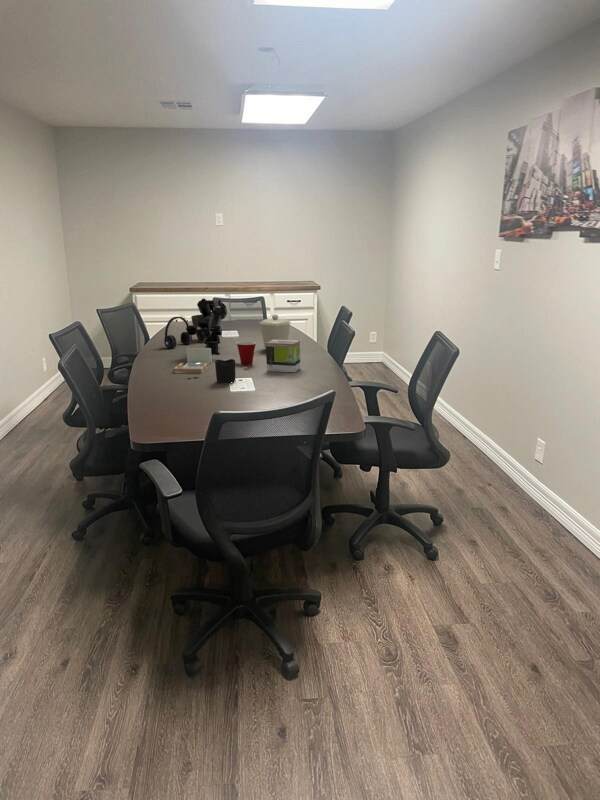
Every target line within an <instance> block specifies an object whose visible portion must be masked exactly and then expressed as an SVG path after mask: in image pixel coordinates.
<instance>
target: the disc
mask: <svg viewBox="0 0 600 800" xmlns="http://www.w3.org/2000/svg"><path fill="white" fill-rule="evenodd" d="M203 365H204V362H202V361H192V362H189V363H188V367H202V366H203Z"/></svg>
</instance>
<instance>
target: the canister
mask: <svg viewBox="0 0 600 800" xmlns="http://www.w3.org/2000/svg"><path fill="white" fill-rule="evenodd" d="M291 323H292V322H291V321H290V320H288V319H286V318H280V317H279V315H278V314H272V315H271V318H265V319H262V320H261V321H260V322H259V324H260V328H261V333H262V334H261V335H262V341H263V346H264V347H263V348H264V349H265V350H266V343H267V342H269V341H271V340H289V335H290V325H291Z"/></svg>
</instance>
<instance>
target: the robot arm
mask: <svg viewBox="0 0 600 800" xmlns="http://www.w3.org/2000/svg"><path fill="white" fill-rule="evenodd" d="M226 305H227V304H226ZM226 305H225V304H224V303H223V301H222V300H221V299H219V298H218V299H216V298H215V299H212V300H211V299H206V298H201V300H199V301H198V302H197V304H196V307H197V308H198V310H199V313H200V315H201V317H197V323H198V326H199V327H197V328H195V327H194V325H193V324H192V325H189V324H188V326H186V327H185V331H186V332H187V333H188V335H192V336H195V335H196V332H197V334H198V336H200V340H201V342H200V343H201V344H203V345H205V346H204V348H211V356H213V355H220V354H221V353H220V352H219V345H220V344H221V338H220V336H222V334H223V329H222V327H221V321H222V320H224V319H225V318H226V317H227V316H228V309H227V306H226ZM212 315H213V320H212V322H211V319H212ZM203 332H204V333H203Z"/></svg>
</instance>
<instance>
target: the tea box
mask: <svg viewBox="0 0 600 800" xmlns="http://www.w3.org/2000/svg"><path fill="white" fill-rule="evenodd" d="M265 355H266V356H265V357H266V358H265V359H266V371H267V372H268V371H269V372H281V373H296V372H298V371H299V370H300V369H301V343H300V340H298V339H297V340H295V339H294V340H292V339H288V340H271V341H269V342H267V343H266V349H265Z"/></svg>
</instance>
